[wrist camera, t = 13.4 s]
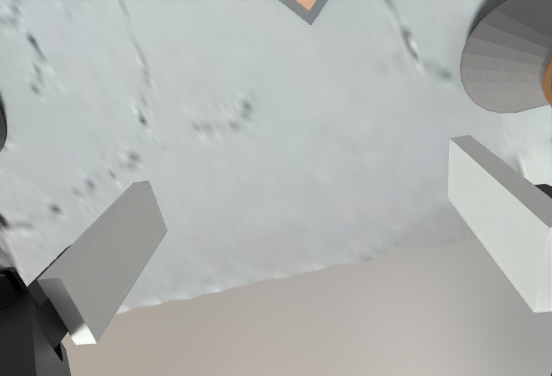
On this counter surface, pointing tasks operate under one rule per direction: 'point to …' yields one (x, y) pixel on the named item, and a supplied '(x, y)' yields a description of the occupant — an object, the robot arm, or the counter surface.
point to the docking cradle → (305, 8)
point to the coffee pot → (510, 57)
